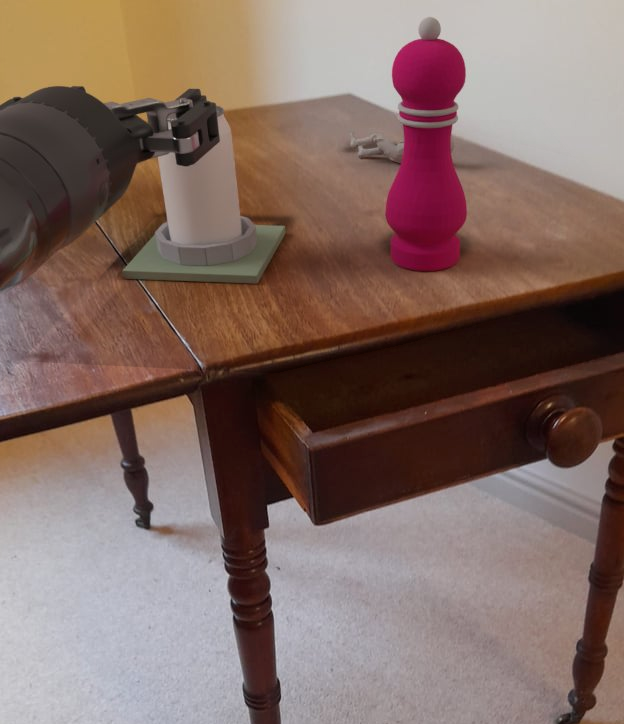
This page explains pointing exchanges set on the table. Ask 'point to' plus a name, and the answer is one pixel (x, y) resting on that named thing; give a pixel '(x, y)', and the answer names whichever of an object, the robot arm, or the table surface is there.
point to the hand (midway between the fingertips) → (139, 102)
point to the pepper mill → (427, 154)
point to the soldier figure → (381, 146)
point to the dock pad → (210, 273)
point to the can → (202, 193)
